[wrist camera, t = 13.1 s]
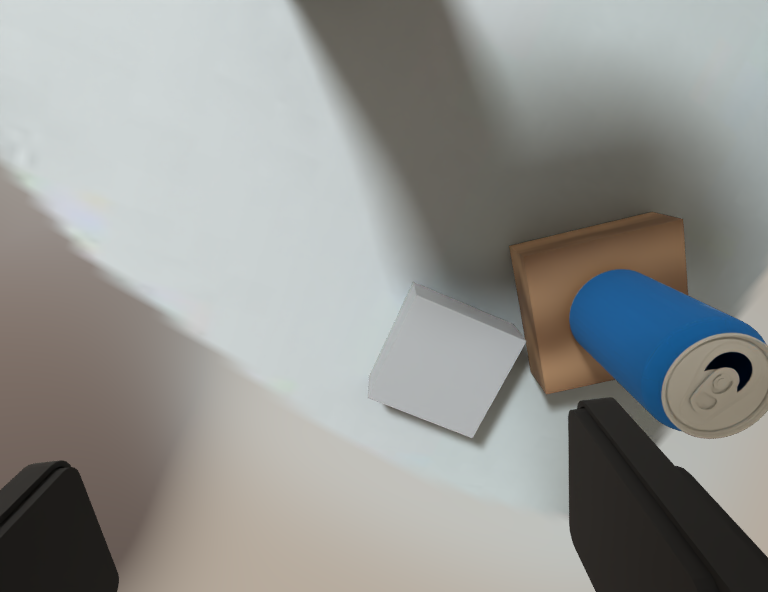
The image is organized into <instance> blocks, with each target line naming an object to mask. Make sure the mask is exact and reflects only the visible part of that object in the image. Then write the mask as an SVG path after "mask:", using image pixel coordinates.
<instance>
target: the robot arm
mask: <svg viewBox="0 0 768 592" xmlns="http://www.w3.org/2000/svg"><path fill="white" fill-rule="evenodd" d="M568 431H569V526H570V533H571V537H572V541H573V544H574V547H575V549H576V551H577V553H578V555H579V557H580V559H581V561H582V563H583V566H584V568H585V570H586V572H587V574H588V576H589V578H590V580H591V583H592V585H593V587H594V589H595V591H596V592H768V557H767V556H766V555H765V554H764V553H763V552H762V551H761V550H760V549H759V548H758V547H757V545H756V544H755V543H754V542H753V541H752V540H751V539H750V538H749V537H748V536H747V535H746V534H745V533H744V532H743V530H742V529H741V528H740V527H739V526H738V525H737V524H736V523H735V522H734V521H733V520H732V518H731V517H730V516H729V515H728V514H727V513H726V512H725V511H724V510H723V509H722V508H721V507H720V505H719V504H718V503H717V502H716V501H715V500H714V499H713V498H712V497H711V496H710V495H709V494H708V492H707V491H706V490H705V489H704V488H703V487H702V486H701V485H700V484H699V483H698V482H697V481H696V479H695V478H694V477H693V476H692V475H691V474H690V473H688V472H687V471H686V470H685V469H684V468H681V467H678V466H674V465H673V463H672V462H670V460H669V459H668V458H667V457H666V456H665V455H664V453H663V452H662V451H661V450H660V449H659V448H658V447H657V446H656V445H655V443H654V442H653V441H652V440H651V439H650V438H649V437H648V436H647V435H646V433H645V432H644V431H643V430H642V429H641V428H640V427H639V426H638V425H637V423H636V422H635V421H634V420H633V419H632V418H631V417H630V416H629V415H628V413H627V412H626V411H625V410H624V409H623V408H622V407H621V406H620V405H619V403H618V402H617V401H616V400H615V399H613V398H610V397H609V398H600V399H592V400H583V401H580V402H579V403H578V406H577V409H575V410H570V411H569V416H568ZM118 583H119V576H118V572H117V570H116V567H115V564H114V562H113V559H112V557H111V554H110V552H109V549H108V547H107V544H106V541H105V538H104V536H103V533H102V531H101V528H100V525H99V523H98V521H97V518H96V515H95V513H94V510H93V507H92V505H91V502H90V500H89V497H88V495H87V492H86V489H85V487H84V484H83V481H82V479H81V476H80V474H79V472H78V470H77V469H75V468H73V467H71V466H70V464H68V463H67V462H66V461H53V462H45V463H35V464H31V465H28V466H27V467H25V468H24V469H23V470H22V471H20V472H19V473H18V474H17V475H16V476H15V477H14V478H13V479H12V480H11V481H10V482H9V483H8V484H6V485H5V486H4V487H3V488H2V489H1V490H0V592H117V589H118Z"/></svg>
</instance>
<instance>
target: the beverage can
mask: <svg viewBox="0 0 768 592" xmlns="http://www.w3.org/2000/svg"><path fill="white" fill-rule="evenodd" d="M569 322H570V328H571V331H572V334H573V336H574V338H575V339H576V341H577V342H578V343H579V344H580V345H581V346H582V347H583V348H584V349H585V350H586V351H587V352H588V353H589V354H590V355H591V356H592V357H593V358H594V359H595V360H596V361H597V362H598V363H599V364H600V365H601V366H602V367H603V368H604V369H605V370H606V371H607V372H608V373H609V374H610V375H612V376H613V377H614V378H615V379H616V380H617V381H618V382H619V383H620V384H621V385H622V386H623V387H624V388H625V389H626V390H627V391H628V392H629V393H630V394H631V395H632V396H633V397H634V398H635V399H636V400H637V401H638V402H639V403H640V404H641V405H642V406H643V407H644V408H645V409H646V410H647V411H648V412H649V413H650V414H651V415H652V416H653V417H654V418H655V419H656V420H658V421H659V422H661V423H662V424H664V425H666V426H668V427H670V428H672V429H675V430H678V431H683V432H685V433H687V434H689V435H691V436H694V437H699V438H707V439H712V438H713V439H714V438H722V437H727V436H731V435H733V434H736V433H739V432H741V431H743V430H745V429H747V428H748V427H750V426H751V425H753V424H754V423H755V422H757V421H758V420H759V419H760V418H761V417H762V416H763V415H764V414H765V413H766V412H767V411H768V346H767V345H766V343H765V341H764V340H763V338H762V337H761V336H760V335H759V334H758V332H757V331H756V330H754V329H753V328H752V327H751V326H749V325H748V324H746V323H744V322H743V321H740V320H738V319H736V318H734V317H732V316H730V315H728V314H726V313H724V312H721V311H719V310H717V309H715V308H713V307H711V306H709V305H707V304H705V303H702V302H700V301H698V300H696V299H694V298H692V297H690V296H688V295H686V294H683V293H681V292H679V291H677V290H675V289H673V288H671V287H669V286H667V285H664V284H662V283H660V282H658V281H656V280H654V279H652V278H650V277H648V276H646V275H643V274H641V273H639V272H636V271H633V270H627V269H616V270H610V271H607V272H604V273H601V274H599V275H597V276H595V277H593V278H592V279H591V280H589V281H588V282H587V283H586V284H585V285H584V286H583V287H582V288H581V289H580V290H579V291H578V293H577V294H576V296H575V298H574V300H573V302H572V305H571V309H570V315H569Z"/></svg>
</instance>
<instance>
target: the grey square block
mask: <svg viewBox="0 0 768 592" xmlns="http://www.w3.org/2000/svg"><path fill="white" fill-rule="evenodd" d="M525 343H526V340H525V339H524V337H523V336H522V335H521V333H520V332H519V331H518V329H517V328H516V327H515V325H514V324H512V323H509V322H507V321H505V320H502V319H500V318H498V317H495V316H493V315H491V314H488V313H486V312H483V311H481V310H479V309H476V308H474V307H472V306H469V305H467V304H465V303H462V302H460V301H457V300H455V299H453V298H450V297H448V296H446V295H443V294H441V293H439V292H436V291H434V290H431V289H429V288H427V287H424V286H422V285H420V284H417V283H415V282H413V284H412V286H411V288H410V290H409V292H408V294H407V296H406V298H405V301H404V303H403V305H402V307H401V309H400V311H399V313H398V316H397V318H396V320H395V322H394V324H393V326H392V328H391V330H390V333H389V335H388V337H387V339H386V341H385V343H384V345H383V348H382V350H381V352H380V354H379V356H378V358H377V360H376V362H375V365H374V367H373V369H372V371H371V373H370V375H369V384H368V398H370V399H372V400H375V401H377V402H380V403H383V404H385V405H388V406H390V407H393V408H395V409H398V410H401V411H403V412H406V413H408V414H411V415H413V416H416V417H419V418H421V419H424V420H426V421H429V422H431V423H434V424H437V425H439V426H442V427H444V428H447V429H449V430H452V431H455V432H457V433H460V434H462V435H465V436H467V437H470V438H473V436H474V435H475V433H476V431H477V429H478V427H479V426H480V424H481V422H482V420H483V418H484V417H485V415H486V413H487V411H488V409H489V408H490V406H491V404H492V402H493V400H494V399H495V397H496V395H497V393H498V391H499V390H500V388H501V386H502V384H503V382H504V381H505V379H506V377H507V375H508V374H509V372H510V370H511V368H512V366H513V365H514V363H515V361H516V359H517V357H518V356H519V354H520V352H521V350H522V348H523V347H524V345H525Z"/></svg>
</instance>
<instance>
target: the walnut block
mask: <svg viewBox="0 0 768 592" xmlns="http://www.w3.org/2000/svg"><path fill="white" fill-rule="evenodd" d="M509 248H510V254H511V260H512V265H513V271H514V277H515V283H516V289H517V294H518V300H519V306H520V312H521V318H522V324H523V329H524V335H525V340H526V347H527V353H528V358H529V364H530V370H531V373H532V374H533V376H534V377H535V379H536V380H537V381H538V383H539V384H540V386H541V387H542V389H543V390H544V392H545V393H546V394H550V393H555V392H560V391H564V390H569V389H573V388H578V387H583V386H587V385H592V384H596V383H601V382H606V381H610V380H615V378H614V377H613V376H612V375H610V374H609V373H608V372H607V371H606V370H605V369H604V368H603V367H602V366H601V365H600V364H599V363H598V362H597V361H596V360H595V359H594V358H593V357H592V356H591V355H590V354H589V353H588V352H587V351H586V350H585V349H584V348H583V347H582V346H581V345H580V344H579V343H578V342H577V341H576V339H575V338H574V336H573V334H572V331H571V328H570V322H569V315H570V309H571V305H572V302H573V300H574V298H575V296H576V294H577V293H578V291H579V290H580V289H581V288H582V287H583V286H584V285H585V284H586V283H587V282H588V281H589V280H591V279H592V278H593V277H595V276H597V275H599V274H601V273H604V272H607V271H610V270H616V269H627V270H633V271H636V272H639V273H641V274H643V275H646V276H648V277H650V278H652V279H654V280H656V281H658V282H660V283H662V284H664V285H667V286H669V287H671V288H673V289H675V290H677V291H679V292H681V293H683V294H686V295H688V287H687V271H686V256H685V241H684V226H683V219H681V218H676V217H672V216H668V215H663V214H659V213H654V212H649V213H645V214H641V215H637V216H633V217H628V218H624V219H620V220H616V221H612V222H607V223H603V224H599V225H595V226H591V227H586V228H582V229H578V230H574V231H570V232H565V233H561V234H557V235H553V236H549V237H544V238H540V239H536V240H532V241H528V242H523V243H519V244H515V245H511V246H509Z"/></svg>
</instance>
